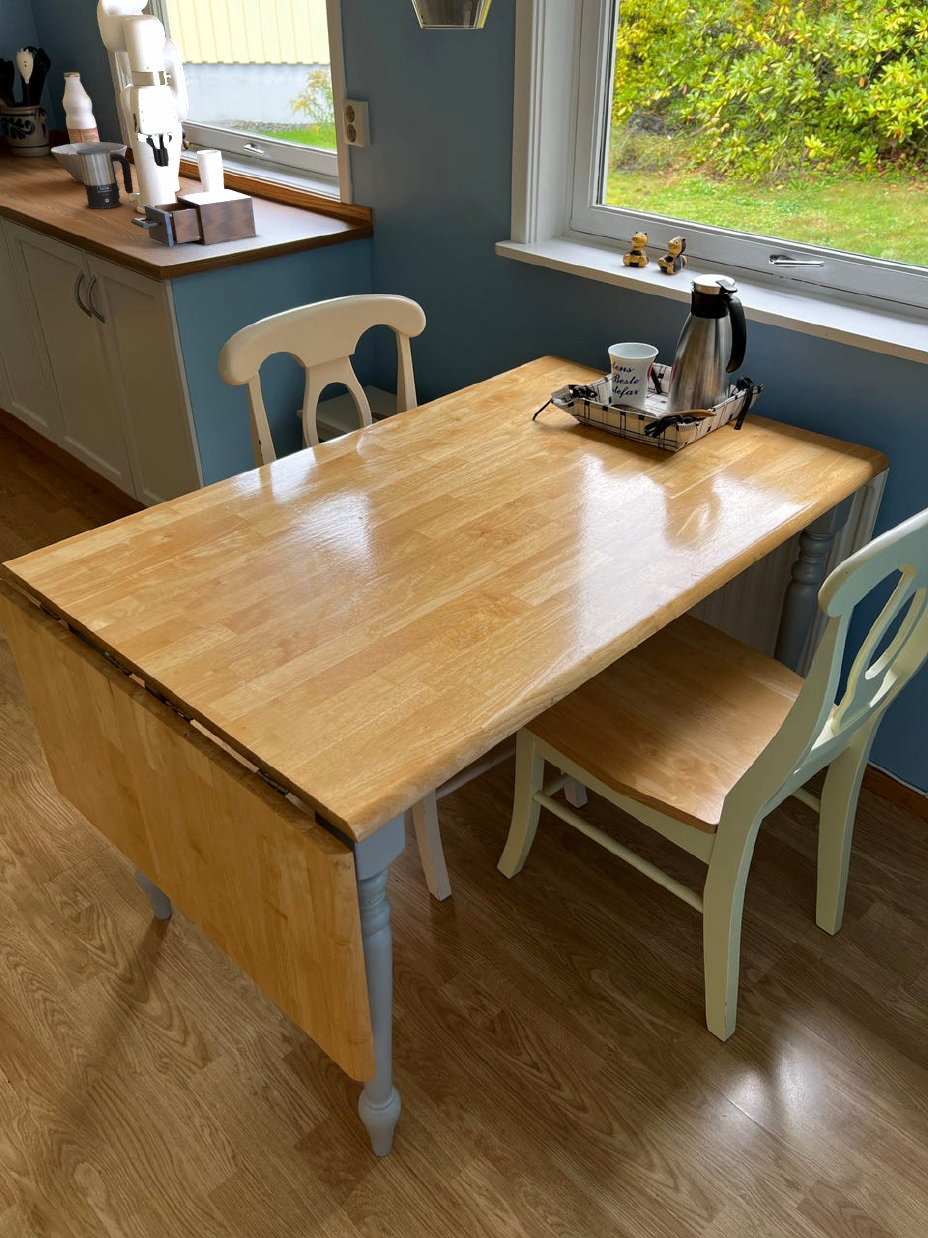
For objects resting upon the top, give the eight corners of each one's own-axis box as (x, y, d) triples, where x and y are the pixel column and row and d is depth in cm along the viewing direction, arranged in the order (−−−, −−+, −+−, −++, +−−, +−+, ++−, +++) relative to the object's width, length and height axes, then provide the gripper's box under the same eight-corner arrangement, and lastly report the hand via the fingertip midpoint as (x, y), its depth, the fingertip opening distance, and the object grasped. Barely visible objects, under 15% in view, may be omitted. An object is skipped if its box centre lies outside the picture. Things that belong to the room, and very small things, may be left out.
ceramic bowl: (147, 179, 313) (141, 145, 308) (90, 191, 297) (83, 156, 292) (101, 172, 323) (94, 139, 318) (43, 183, 307) (35, 148, 301)
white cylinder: (205, 206, 281) (198, 149, 272) (229, 206, 281) (222, 149, 273) (202, 211, 275) (194, 153, 267) (226, 211, 276) (219, 153, 267)
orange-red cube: (174, 237, 242) (170, 216, 240) (165, 234, 245) (162, 213, 243) (191, 234, 245) (188, 213, 242) (182, 231, 248) (179, 210, 245)
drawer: (151, 249, 237) (145, 216, 232) (131, 240, 244) (125, 207, 239) (218, 238, 247) (214, 205, 242) (197, 229, 254) (193, 198, 249)
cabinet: (205, 245, 244) (199, 204, 239) (182, 235, 252) (176, 196, 247) (256, 236, 252) (251, 196, 247) (232, 227, 260) (227, 189, 255)
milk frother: (98, 210, 276) (87, 153, 267) (68, 202, 284) (57, 147, 276) (141, 202, 285) (132, 147, 276) (111, 195, 293) (101, 141, 285)
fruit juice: (71, 168, 328) (52, 74, 312) (80, 163, 336) (61, 71, 320) (99, 168, 329) (81, 74, 313) (107, 163, 336) (90, 71, 320)
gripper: (170, 76, 231) (182, 160, 242) (111, 80, 223) (126, 167, 233) (185, 78, 227) (197, 164, 237) (126, 83, 218) (141, 171, 229)
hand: (162, 165), depth 235 cm, fingers closed
